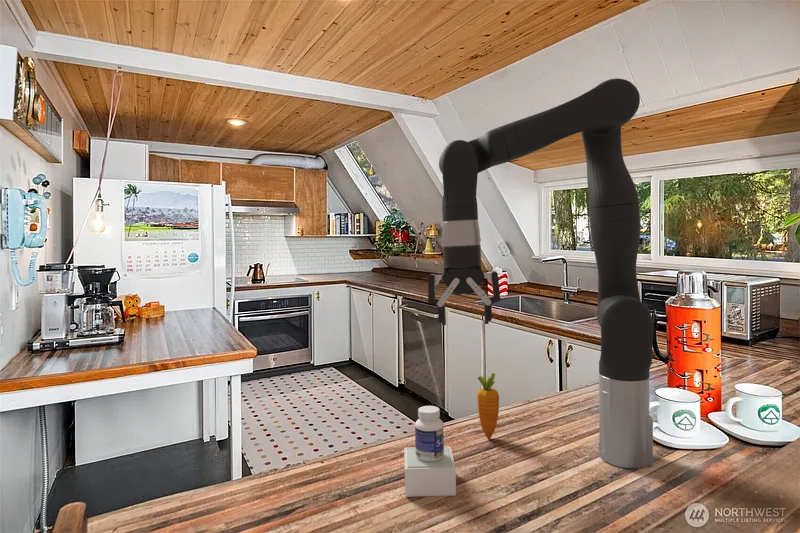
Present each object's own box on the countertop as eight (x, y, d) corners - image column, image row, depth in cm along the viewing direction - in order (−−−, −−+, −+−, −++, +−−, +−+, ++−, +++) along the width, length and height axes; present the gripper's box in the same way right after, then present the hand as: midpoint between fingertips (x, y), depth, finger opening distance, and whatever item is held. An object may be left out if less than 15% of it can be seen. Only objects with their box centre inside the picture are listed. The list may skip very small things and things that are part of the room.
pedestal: (450, 471, 95) (450, 445, 95) (456, 495, 86) (455, 466, 86) (404, 472, 95) (404, 446, 95) (405, 496, 86) (404, 468, 86)
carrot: (475, 441, 109) (474, 375, 108) (480, 433, 114) (479, 369, 113) (497, 444, 107) (496, 377, 106) (501, 435, 112) (500, 371, 111)
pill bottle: (442, 463, 87) (441, 414, 87) (413, 461, 88) (412, 413, 88) (445, 450, 92) (444, 405, 92) (418, 449, 94) (417, 403, 93)
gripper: (496, 241, 100) (500, 320, 101) (427, 245, 102) (431, 322, 103) (498, 242, 92) (502, 326, 93) (424, 245, 95) (428, 328, 95)
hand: (465, 324), depth 98 cm, fingers open, 8 cm apart
